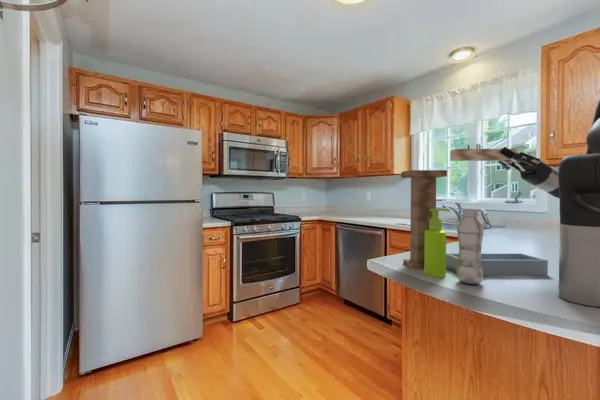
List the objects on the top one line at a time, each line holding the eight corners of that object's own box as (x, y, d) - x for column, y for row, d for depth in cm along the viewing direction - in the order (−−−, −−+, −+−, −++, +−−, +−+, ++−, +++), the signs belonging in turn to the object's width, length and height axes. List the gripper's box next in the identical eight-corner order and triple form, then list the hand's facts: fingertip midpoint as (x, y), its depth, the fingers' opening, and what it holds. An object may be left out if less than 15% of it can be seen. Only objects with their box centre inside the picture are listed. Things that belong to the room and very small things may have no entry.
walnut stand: (434, 263, 104) (435, 172, 103) (446, 269, 96) (447, 170, 95) (400, 263, 104) (401, 172, 103) (409, 269, 96) (409, 170, 95)
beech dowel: (508, 160, 101) (508, 150, 101) (516, 159, 97) (516, 148, 97) (450, 160, 101) (450, 150, 101) (455, 159, 97) (455, 148, 97)
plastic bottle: (456, 284, 79) (456, 210, 79) (456, 278, 85) (456, 209, 85) (484, 288, 76) (485, 210, 76) (482, 281, 82) (483, 209, 82)
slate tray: (521, 266, 99) (521, 253, 99) (547, 275, 88) (547, 260, 88) (444, 266, 99) (444, 253, 99) (462, 275, 88) (462, 260, 88)
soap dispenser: (452, 277, 86) (453, 208, 85) (429, 277, 86) (429, 208, 86) (443, 272, 92) (444, 208, 91) (421, 272, 92) (421, 207, 91)
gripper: (531, 168, 106) (489, 144, 106) (566, 164, 92) (519, 136, 92) (520, 186, 106) (479, 162, 106) (554, 185, 92) (506, 157, 92)
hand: (498, 150), depth 99 cm, fingers closed on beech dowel, 3 cm apart
